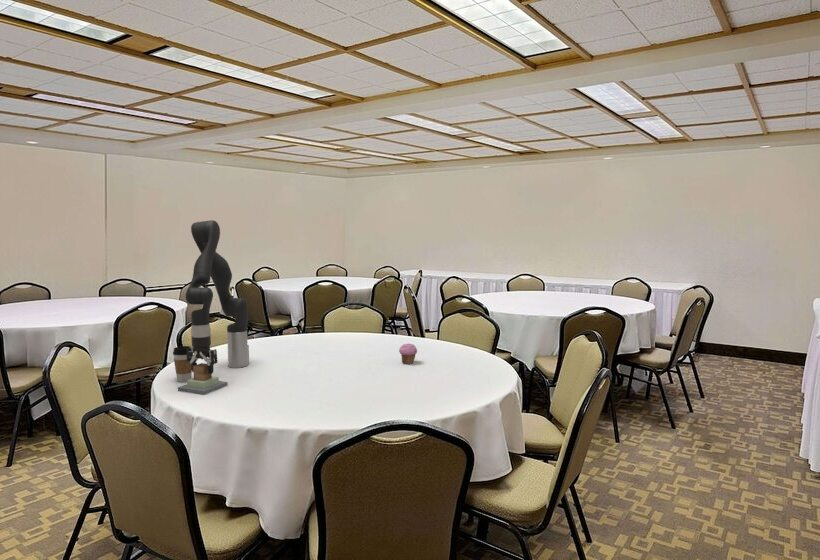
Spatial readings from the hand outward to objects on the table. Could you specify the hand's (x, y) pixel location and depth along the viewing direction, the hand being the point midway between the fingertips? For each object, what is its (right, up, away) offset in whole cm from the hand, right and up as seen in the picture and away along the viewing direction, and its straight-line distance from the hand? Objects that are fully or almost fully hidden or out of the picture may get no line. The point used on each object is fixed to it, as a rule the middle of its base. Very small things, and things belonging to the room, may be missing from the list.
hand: (202, 372), depth 233 cm
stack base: (0, -7, +1) cm, 7 cm away
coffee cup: (-13, -6, +12) cm, 18 cm away
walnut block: (0, -3, 0) cm, 3 cm away
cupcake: (+87, -3, +42) cm, 97 cm away
